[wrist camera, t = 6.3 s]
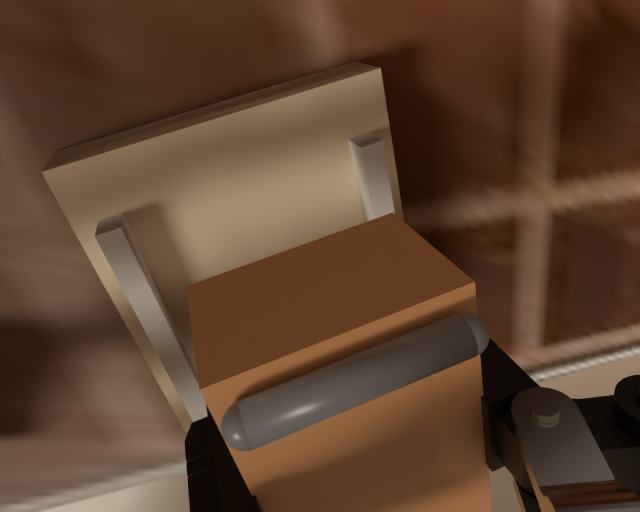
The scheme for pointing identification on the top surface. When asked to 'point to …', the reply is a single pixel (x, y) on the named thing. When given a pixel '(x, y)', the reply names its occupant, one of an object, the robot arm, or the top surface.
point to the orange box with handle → (348, 374)
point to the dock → (223, 199)
